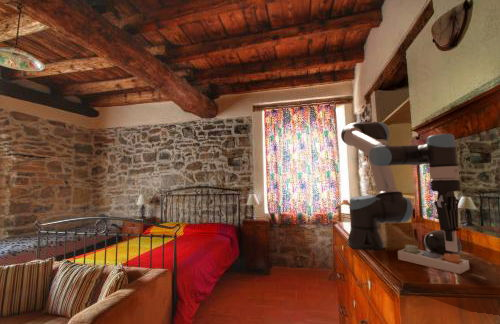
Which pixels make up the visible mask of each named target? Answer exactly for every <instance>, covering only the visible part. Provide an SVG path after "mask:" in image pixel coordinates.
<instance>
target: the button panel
mask: <svg viewBox="0 0 500 324" xmlns="http://www.w3.org/2000/svg"><path fill="white" fill-rule="evenodd" d="M425 251H426V250H423V249H418V253H417V254H414V253H409V252H405V248H403V249H399V250H397V259H398V261H400V260H401V261H405V262H409V263H413V264H417V265H421V266H425V267H428V268H434V269H439V270H442V271H447V272H450V273H454V274H462V273H464V272H466V271H469V270H470V261H469V260H467V259H465V258H464V259H463V258H460V263H459V264H456V263H452V262H447V261H444V255H441V254H438V258H436V259H435V258H431V257H426V256H424V253H423V252H425Z"/></svg>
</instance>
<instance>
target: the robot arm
mask: <svg viewBox="0 0 500 324" xmlns="http://www.w3.org/2000/svg"><path fill="white" fill-rule="evenodd" d="M340 139H341V141H343V142H344V144H345V145H347V146H350V147H354V148H355V149H357V150H359V151H360V152H362V153H364V154H366V155H367V158H368V162H369V165H370V166H369V167H370V168H371V173H372V177H373V181H374V185H375V189H376V192H377V193H376V194H375V195H373V194H369V195H367V194H366V195H358V196H354V197H351V198H350V200H349V217H350V220H349V221H350V231H349V235H348V239H347V245H348V247H350V248H352V249H355V250H364V251H365V250H366V251H379V250H383V249H385V244H384V243H385V242H384V240H383V238H382V235H381V233H380V231H379V230H380V229H379V224H394V223H395V224H400V223H406V222H408V221H409V220H411V217H412V215H413V212H414V211H413V210H414V209H413V204H412V201H411V200H410V199H409V198H408V197H406V196H404V194H403V192H402V191H401V190H399V189H398V188H397V184H396V181H395V177H394V174H393V171H392V168H391V166H398V165H399V166H420V165H421V166H422V165H427V164H428V166H429V178H430V179H431V180H430V186H431V191H433V192H437V197H436V200H434V202H433V203H434V206H435V209H436V213H437V218H438V223H439V230H444V236H445V246H446V250H447V251H452V252H458V246H457V238H458V237H457V232H459V231H460V229H459V203H460V200H459V199H458V198H457V197H456V195H455V192H460V191H461V181H460V180H459V178H460V172H461V169H460V168H459V164H458V152H457V146H458V145H457V144H456V143H457V142H456V140H455V139H456V138H455V136H454V134H452V133H439V134H433V135H432V134H431V135H429V136H427V138H426V143H423V144H413V145H412V144H411V145H389V144H387V142H388V141H389V139H390V130H389V128H388V125H387V124H385V123H384V122H381V121H380V122H379V121H372V122H352V123H349V124H346V125H345V126H344V128H343V129H342V131H341V133H340Z"/></svg>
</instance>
